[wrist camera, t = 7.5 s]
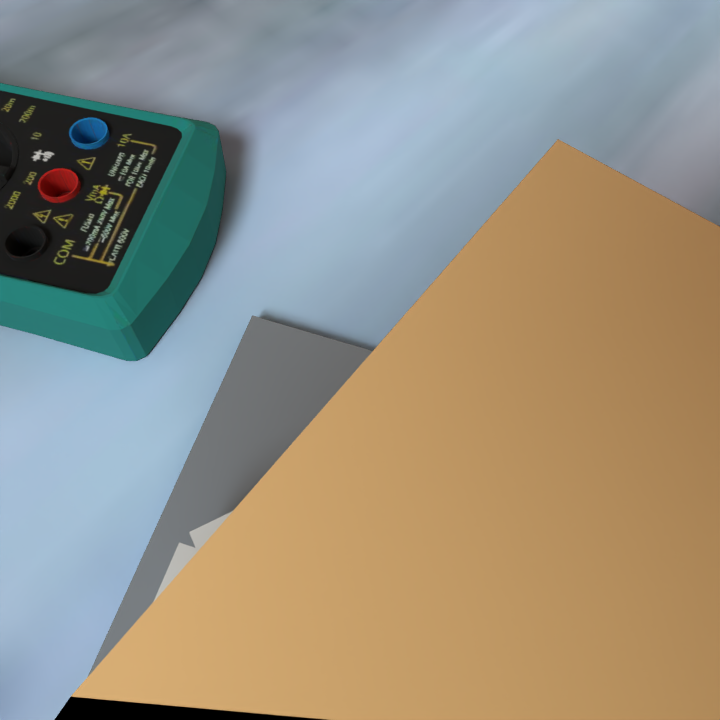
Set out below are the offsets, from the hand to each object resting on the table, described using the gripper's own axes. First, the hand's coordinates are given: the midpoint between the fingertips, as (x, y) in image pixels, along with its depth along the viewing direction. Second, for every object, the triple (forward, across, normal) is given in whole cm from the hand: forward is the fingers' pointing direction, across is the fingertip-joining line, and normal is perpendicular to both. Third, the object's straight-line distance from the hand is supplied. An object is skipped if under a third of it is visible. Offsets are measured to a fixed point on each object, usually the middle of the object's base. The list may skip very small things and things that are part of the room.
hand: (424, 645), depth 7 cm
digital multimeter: (+18, +8, -5) cm, 20 cm away
